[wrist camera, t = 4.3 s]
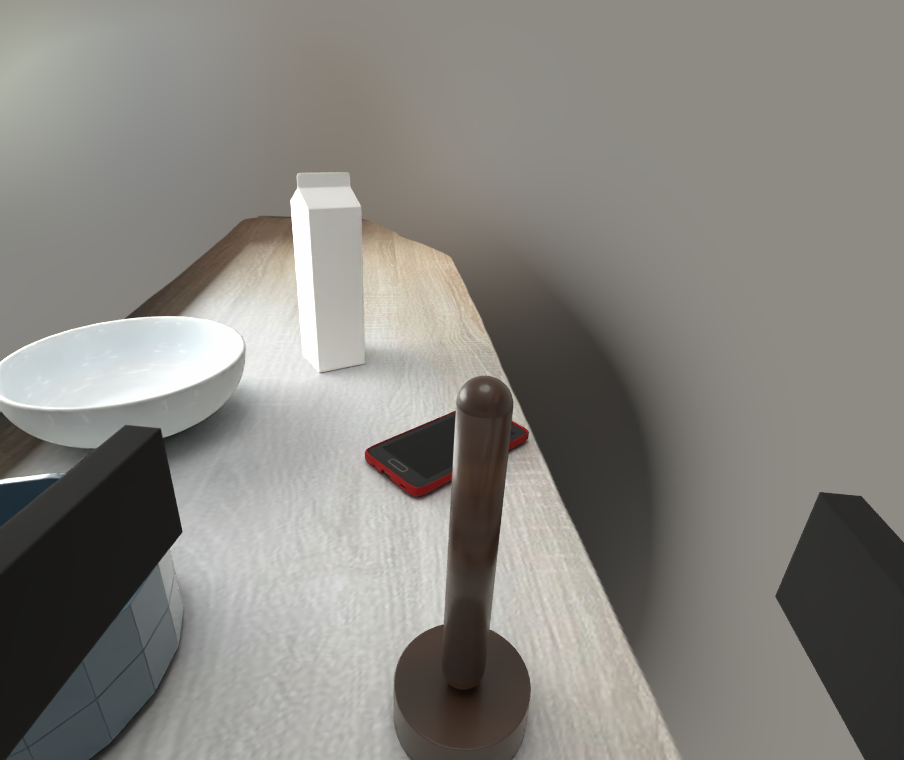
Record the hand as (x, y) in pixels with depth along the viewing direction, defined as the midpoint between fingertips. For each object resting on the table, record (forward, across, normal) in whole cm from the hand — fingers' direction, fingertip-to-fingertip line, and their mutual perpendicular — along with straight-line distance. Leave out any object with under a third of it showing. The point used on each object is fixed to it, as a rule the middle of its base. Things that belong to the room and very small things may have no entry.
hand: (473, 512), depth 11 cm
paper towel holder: (+10, 0, -21) cm, 23 cm away
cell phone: (+35, -3, -22) cm, 41 cm away
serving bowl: (+36, -34, -22) cm, 54 cm away
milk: (+53, -19, -22) cm, 60 cm away
